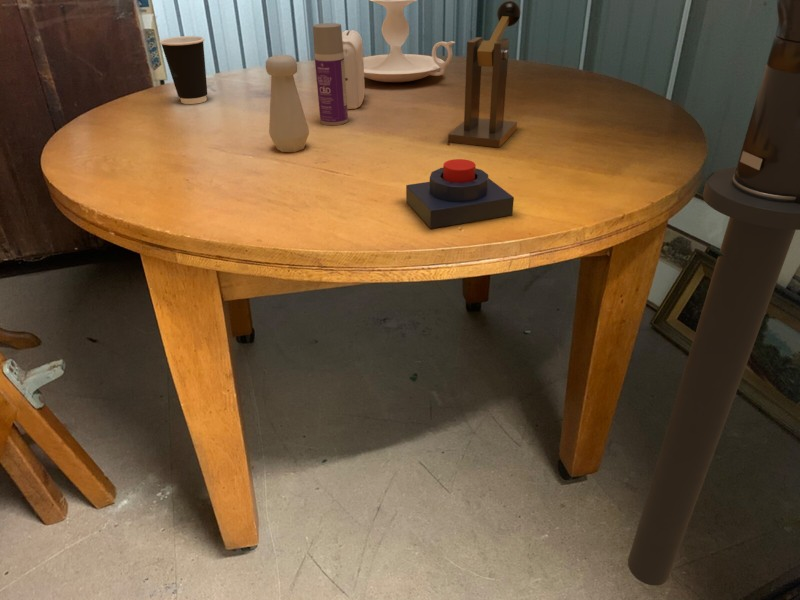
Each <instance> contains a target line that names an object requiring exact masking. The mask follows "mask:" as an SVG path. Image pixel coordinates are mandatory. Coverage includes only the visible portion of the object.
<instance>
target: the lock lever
mask: <svg viewBox="0 0 800 600" xmlns="http://www.w3.org/2000/svg"><path fill="white" fill-rule="evenodd" d="M520 17H521V8H520V6H519V5H518V3H517V2H516V1H513V0H505V1H504V2H502V3H501V4H500V5H499V7H498V8H497V12H496V18H497V21H498V24H497V25H496V27H495V29H494V31H493V32H492V34H491V37H490V38H489V40H486V39H483V41H482V43H481V45H480V46H479V48H478V50H477V57H478V66H481V67H488V68H493V56H494V43H496V42H498V41H499V40H501V39H502V37H503V35H504V33H505V31H506V30H507V27H512V26H514V25H515V24H517V23H518V22H519V21H520Z"/></svg>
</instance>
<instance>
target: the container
mask: <svg viewBox="0 0 800 600" xmlns="http://www.w3.org/2000/svg"><path fill="white" fill-rule="evenodd" d="M342 32H343V31H342V24H341V23H335V22H323V23H316V24H313V25H312V36H313V37H312V38H313V52H314V65H315V75H316V78H315V79H316V87H317V99H318V100H317V101H318V108H319V109H318V110H319V120H320V123H321V124H322V125H326V126H340V125H345V124H347V123H348V122H349V113H348V109H347V96H346V81H345V65H344V52H343V41H342Z"/></svg>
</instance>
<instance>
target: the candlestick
mask: <svg viewBox="0 0 800 600" xmlns="http://www.w3.org/2000/svg"><path fill="white" fill-rule="evenodd" d="M368 1H370V2H372V3H376V4H378V5H380V6H381V7H384V9H385V10H386V13H385V14H386V15H385V17H384V19H383V22H382V25H381V33H382V37H383V39H384V41H385V42H386V43H387V45H389V46H390V48H389V49H390V50H389V53H388V54H375V55H369V56H363V62H364V79H369V80H372V81H375V82H382V83H405V82H412V81H418V80H421V79H424V78H426V77H427V78H428V76H435V77H438V76H439V77H440V76H443V75H444V74H445V73H446V69H447V66H449V64H450V63H451V62H452V60H453V54H454V53H453V49H452V45H454V44H455V43H456V42H455V41H454V40H451V41H448V42H446V41H439V42H436V43H435V44H434V45H433V46H432V49H431V56H430V55H424V54H414V53H412V54H411V53H403V51H402V46H403V44H405V42H406V41H407V39H408V37H409V34H410V25H409V22H408V19H407V18H406V17H405V13H404V10H405V8H406V7H408V5H410V4H413V3H414V2H417V1H418V0H368ZM440 46H442V47H444V48H445V49H446V52H447V58H446V60H443V59H441V58H439V57H438V56H437V55H438V54H437V51H438V48H439V47H440ZM439 69H440V70H439ZM437 70H439V72H437Z"/></svg>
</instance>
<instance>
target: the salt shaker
mask: <svg viewBox="0 0 800 600" xmlns="http://www.w3.org/2000/svg"><path fill="white" fill-rule="evenodd" d="M265 71H266V73H267V75H269V76H271V78H270V99H269V100H270V102H269V103H270V104H269V124H268V125H269V128H268V134H269V137H270V139H271V141H272V143H273V145H274V146H275V147H276V149H277V150H278V151H280V152H281V153H297V152H299V151H302V150H304V149H305V146H306V143H307V140H308V138H309V135H310V129H309V125H308V121H307V119H306V116H305V112H304V109H303V105H302V102H301V98H300V95H299V90H298V87H297V85H296V81H295V77H294V76H295V74H297V73H298V63H297V60H296V58H294V56H292V55H288V54H277V55H272V56H269V57H268V58H267V59H266V60H265Z"/></svg>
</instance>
